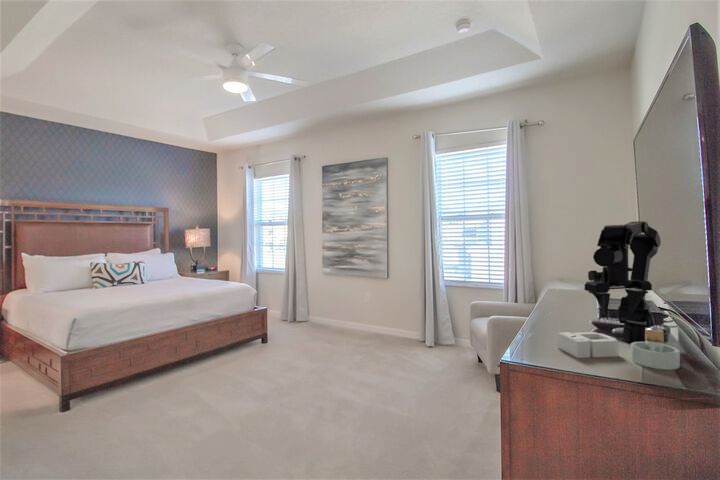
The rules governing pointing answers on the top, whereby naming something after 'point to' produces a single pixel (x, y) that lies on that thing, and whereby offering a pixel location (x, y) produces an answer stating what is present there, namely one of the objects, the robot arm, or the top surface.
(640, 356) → the cup
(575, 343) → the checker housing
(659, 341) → the battery cell
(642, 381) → the top surface
